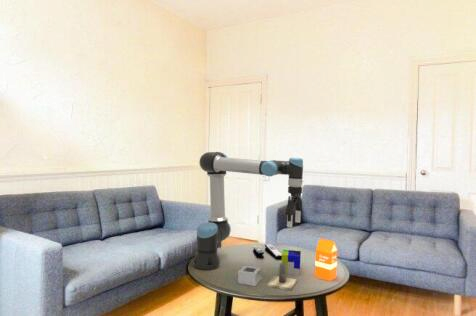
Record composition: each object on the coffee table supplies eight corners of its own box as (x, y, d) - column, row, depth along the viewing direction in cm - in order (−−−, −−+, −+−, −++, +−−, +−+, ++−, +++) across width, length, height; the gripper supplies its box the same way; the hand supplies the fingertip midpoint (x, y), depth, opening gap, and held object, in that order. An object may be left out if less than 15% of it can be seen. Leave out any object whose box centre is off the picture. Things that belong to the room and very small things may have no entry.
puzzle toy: (299, 274, 181) (300, 256, 180) (281, 273, 183) (281, 255, 182) (300, 268, 191) (300, 251, 190) (282, 266, 193) (283, 249, 192)
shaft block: (267, 286, 165) (267, 265, 164) (273, 277, 176) (274, 258, 176) (291, 290, 160) (292, 269, 160) (296, 281, 172) (297, 261, 171)
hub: (238, 283, 168) (238, 271, 167) (244, 276, 176) (244, 265, 176) (255, 286, 164) (255, 274, 164) (260, 279, 173) (261, 268, 173)
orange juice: (330, 281, 173) (331, 243, 172) (314, 276, 179) (315, 239, 178) (336, 277, 179) (337, 240, 178) (321, 272, 185) (322, 236, 184)
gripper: (294, 189, 170) (292, 230, 171) (308, 184, 192) (307, 221, 193) (280, 187, 174) (278, 228, 174) (296, 183, 195) (294, 219, 196)
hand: (293, 224), depth 184 cm, fingers open, 13 cm apart
